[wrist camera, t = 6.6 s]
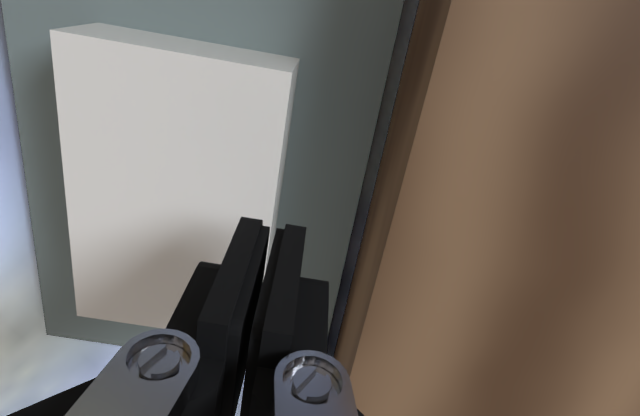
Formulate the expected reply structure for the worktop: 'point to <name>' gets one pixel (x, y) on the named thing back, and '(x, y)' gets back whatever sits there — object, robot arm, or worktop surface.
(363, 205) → the worktop surface
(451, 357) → the board
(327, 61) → the mat
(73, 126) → the tile
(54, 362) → the worktop surface
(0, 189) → the worktop surface
